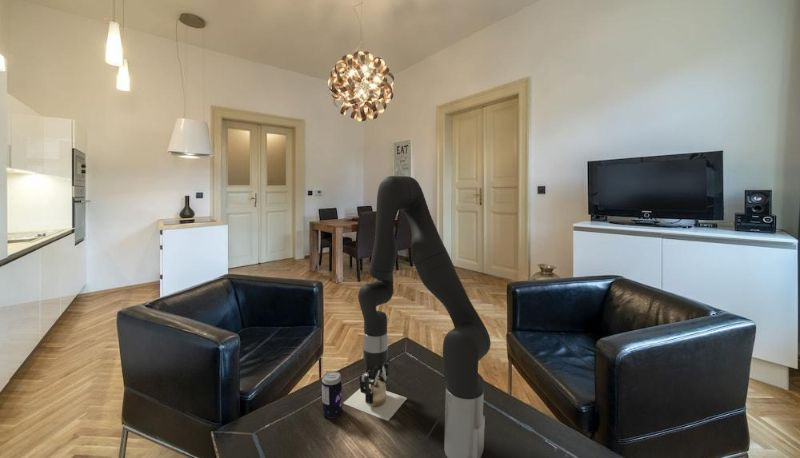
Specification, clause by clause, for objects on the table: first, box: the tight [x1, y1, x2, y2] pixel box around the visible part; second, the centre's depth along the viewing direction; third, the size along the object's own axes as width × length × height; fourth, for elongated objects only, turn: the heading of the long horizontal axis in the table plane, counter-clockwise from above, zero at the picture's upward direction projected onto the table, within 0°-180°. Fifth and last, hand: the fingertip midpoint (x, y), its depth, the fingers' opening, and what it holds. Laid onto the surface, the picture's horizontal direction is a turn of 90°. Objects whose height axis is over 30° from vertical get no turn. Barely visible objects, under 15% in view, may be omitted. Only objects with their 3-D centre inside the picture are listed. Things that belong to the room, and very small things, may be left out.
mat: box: [342, 387, 408, 422], centre depth 104 cm, size 16×12×1 cm
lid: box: [365, 379, 387, 407], centre depth 104 cm, size 6×6×6 cm
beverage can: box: [321, 371, 343, 419], centre depth 98 cm, size 6×6×12 cm
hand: (375, 396), depth 104 cm, fingers closed on lid, 6 cm apart
